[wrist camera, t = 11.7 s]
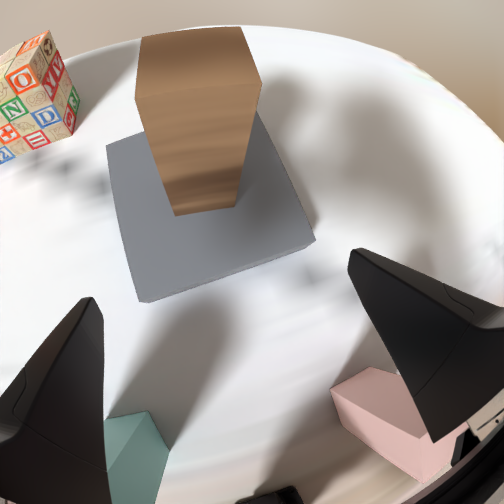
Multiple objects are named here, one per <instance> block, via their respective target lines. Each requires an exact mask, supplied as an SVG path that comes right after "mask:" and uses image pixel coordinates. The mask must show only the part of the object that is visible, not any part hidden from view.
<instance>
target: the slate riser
mask: <svg viewBox="0 0 504 504" xmlns="http://www.w3.org/2000/svg"><path fill="white" fill-rule="evenodd" d="M106 151H107V159H108V166H109V173H110V180H111V186H112V192H113V198H114V203H115V209H116V214H117V219H118V223H119V228H120V232H121V237H122V241H123V245H124V249H125V253H126V257H127V261H128V265H129V269H130V272H131V276H132V279H133V283H134V286H135V290H136V293H137V296H138V299H139V302H144V303H151V302H154V301H157V300H160V299H162V298H165V297H168V296H171V295H174V294H177V293H180V292H183V291H186V290H189V289H192V288H195V287H198V286H201V285H203V284H206V283H209V282H212V281H215V280H218V279H221V278H224V277H226V276H229V275H232V274H235V273H238V272H241V271H243V270H246V269H249V268H252V267H255V266H258V265H260V264H263V263H266V262H269V261H272V260H274V259H277V258H280V257H283V256H286V255H288V254H291V253H294V252H297V251H299V250H302V249H304V248H306V247H307V246H309V245H310V244H312V243H313V242H315V241H316V239H315V236H314V234H313V231H312V229H311V227H310V224H309V222H308V220H307V217H306V215H305V213H304V210H303V208H302V206H301V203H300V201H299V199H298V197H297V194H296V192H295V190H294V188H293V185H292V183H291V181H290V179H289V177H288V174H287V172H286V170H285V168H284V166H283V164H282V162H281V160H280V157H279V155H278V153H277V151H276V149H275V147H274V145H273V143H272V141H271V139H270V137H269V135H268V133H267V131H266V129H265V127H264V125H263V123H262V121H261V119H260V117H259V115H258V113H257V111H255V116H254V120H253V124H252V128H251V133H250V137H249V142H248V146H247V150H246V155H245V159H244V164H243V168H242V173H241V178H240V182H239V187H238V192H237V196H236V201H235V206H234V207H231V208H225V209H218V210H212V211H206V212H199V213H193V214H187V215H182V216H176V217H175V215H174V212H173V210H172V207H171V204H170V202H169V199H168V196H167V194H166V191H165V188H164V186H163V183H162V180H161V177H160V175H159V172H158V169H157V166H156V163H155V160H154V158H153V155H152V152H151V149H150V146H149V143H148V140H147V137H146V134H145V131H144V132H141V133H138V134H135V135H133V136H130V137H127V138H124V139H122V140H119V141H116V142H114V143H111V144H109V145H106Z"/></svg>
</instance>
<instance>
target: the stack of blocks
mask: <svg viewBox="0 0 504 504" xmlns="http://www.w3.org/2000/svg"><path fill="white" fill-rule="evenodd" d="M79 102H80V99H79V96H78V94H77V92H76V90H75V88H74V86H73V85H72V82H71V80H70V78H69V76H68V73H67V71H66V69H65V66H64V63H63V61H62V59H61V56H60V54H59V52H58V50H57V48H56V46H55V43H54V41H53V38H52V36H51V33H50V31H49V30H48V31H46V32H44V33H42V34H40V35H38V36H36V37H33V38H32V39H30V40H28V41H26V42H22V43H20V44H18V45H16V46H15V47H13V48H11V49H10V50H8V51H6V52H5V53H4V54H3V55H1V56H0V164H2V163H4V162H6V161H8V160H10V159H13V158H15V157H16V156H19V155H21V154H24V153H26V152H28V151H31V150H34V149H37V148H39V147H42V146H44V145H47V144H50V143H52V142H56V141H58V140H61V139H64V138H67V137H70V136H72V135H73V130H74V125H75V120H76V114H77V109H78V105H79Z"/></svg>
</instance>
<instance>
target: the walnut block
mask: <svg viewBox="0 0 504 504" xmlns="http://www.w3.org/2000/svg"><path fill="white" fill-rule="evenodd" d="M261 87H262V82H261V79H260V76H259V73H258V71H257V68H256V65H255V63H254V60H253V57H252V55H251V52H250V49H249V47H248V44H247V42H246V39H245V37H244V34H243V32H242V29H241V27H214V28H201V29H190V30H182V31H175V32H168V33H162V34H156V35H151V36H146V37H142V40H141V47H140V53H139V61H138V69H137V78H136V89H135V102H136V105H137V108H138V112H139V115H140V118H141V121H142V124H143V128H144V131H145V134H146V137H147V140H148V143H149V146H150V149H151V152H152V155H153V158H154V160H155V163H156V166H157V169H158V172H159V175H160V177H161V180H162V183H163V186H164V188H165V191H166V194H167V196H168V199H169V202H170V204H171V207H172V210H173V212H174V215H175V217H176V216H182V215H187V214H193V213H199V212H206V211H212V210H218V209H225V208H231V207H234V206H235V201H236V196H237V192H238V187H239V182H240V178H241V173H242V168H243V164H244V159H245V155H246V150H247V146H248V142H249V137H250V133H251V128H252V124H253V120H254V116H255V111H256V107H257V103H258V99H259V95H260V91H261Z"/></svg>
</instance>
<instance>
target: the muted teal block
mask: <svg viewBox="0 0 504 504" xmlns="http://www.w3.org/2000/svg"><path fill="white" fill-rule="evenodd" d="M104 441H105V454H106V465H107V472H108V480H109V487H110V493H111V499H112V504H155V501H156V497H157V494H158V490H159V487H160V483H161V480H162V476H163V473H164V469H165V466H166V462H167V459H168V456H169V452H170V451H169V449H168V448H167V446H166V444H165V442H164V441H163V439H162V437H161V435H160V433H159V431H158V430H157V428H156V426H155V424H154V422H153V420H152V418H151V416H150V414H149V412H148V411H144V412H139V413H135V414H130V415H125V416H120V417H115V418H109V419H106V420H105V421H104Z"/></svg>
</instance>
